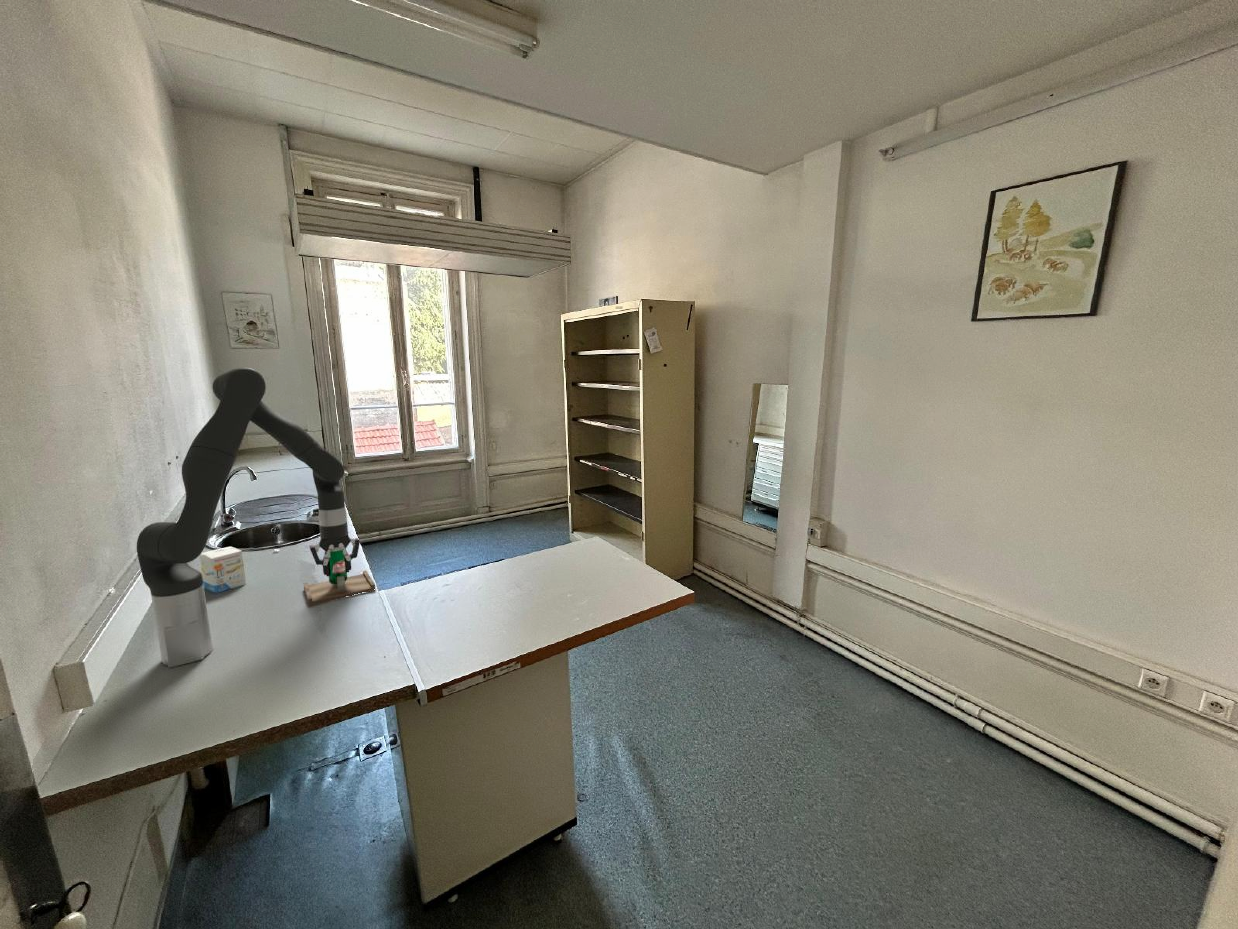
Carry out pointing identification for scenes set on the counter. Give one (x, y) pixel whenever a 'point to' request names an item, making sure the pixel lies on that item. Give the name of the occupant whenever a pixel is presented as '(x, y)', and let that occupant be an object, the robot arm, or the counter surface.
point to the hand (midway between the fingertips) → (337, 573)
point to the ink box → (222, 569)
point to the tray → (332, 589)
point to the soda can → (337, 565)
